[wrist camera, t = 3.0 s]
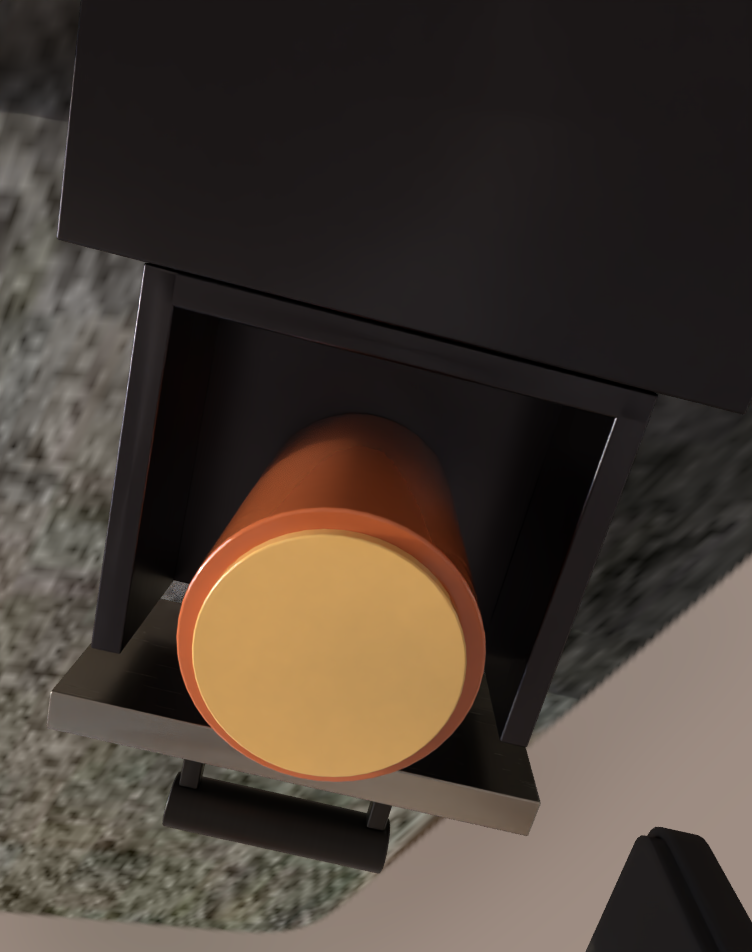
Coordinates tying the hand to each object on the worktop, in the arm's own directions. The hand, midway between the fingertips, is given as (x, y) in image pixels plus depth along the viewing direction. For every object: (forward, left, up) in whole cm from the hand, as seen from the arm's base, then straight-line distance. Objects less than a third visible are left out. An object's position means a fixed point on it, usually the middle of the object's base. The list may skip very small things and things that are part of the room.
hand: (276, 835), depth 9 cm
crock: (0, 0, -13) cm, 13 cm away
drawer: (0, +2, -14) cm, 14 cm away
